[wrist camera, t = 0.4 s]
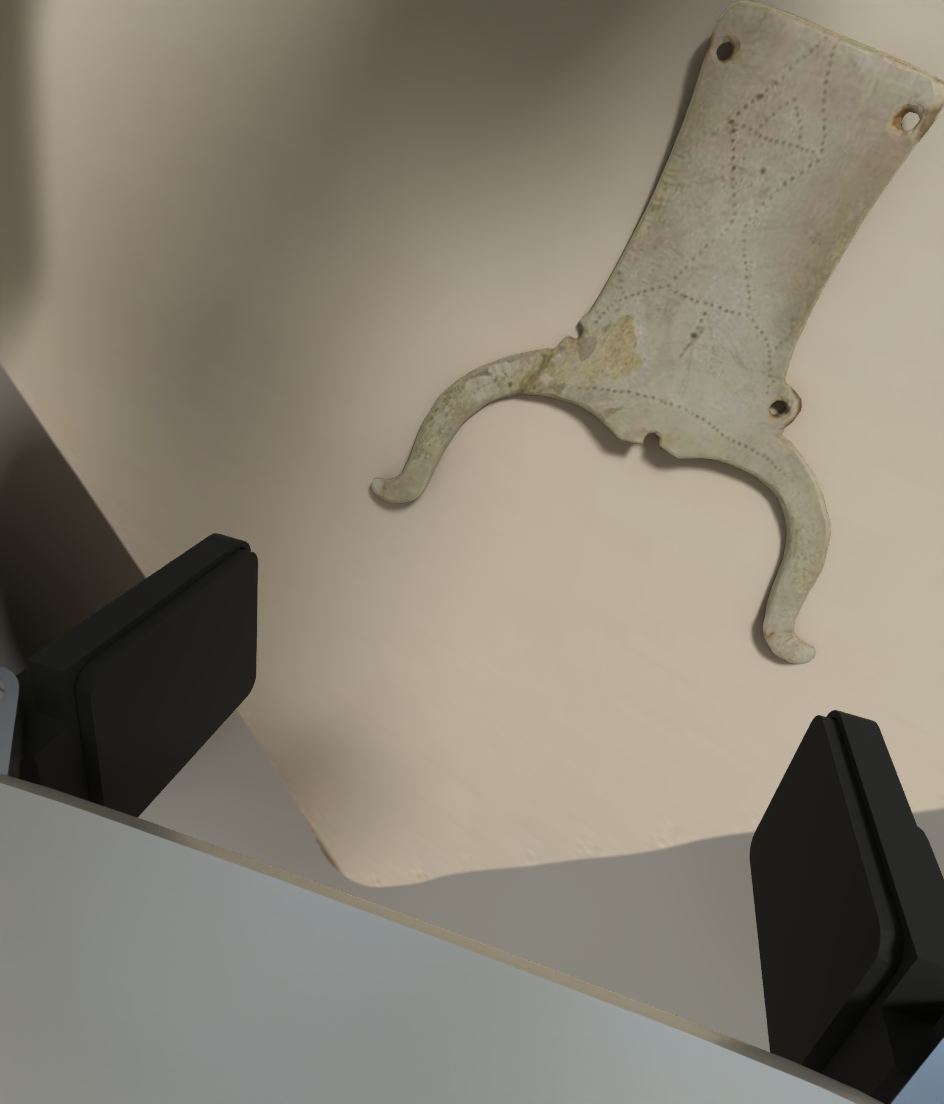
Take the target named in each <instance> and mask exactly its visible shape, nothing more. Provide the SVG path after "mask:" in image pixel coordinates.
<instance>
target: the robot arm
mask: <svg viewBox="0 0 944 1104" xmlns="http://www.w3.org/2000/svg"><path fill="white" fill-rule="evenodd" d="M257 584H258V558H257V555H256V554H255V553H254V552H251V549H250V546H249V544H248V543H247V542H246V541H242V540H239V539H235V538H232V537H228V536H225V535H221V534H216V533H214V534H212V535H210V536H208V537H207V538H205V539H204V540H202V541H201V542H199V543H198V544H196V545H195V546H193V547H192V548H191V549H189V550H188V551H186V552H185V553H183V554H182V555H180V556H179V557H177V558H176V559H174V560H173V561H171V562H170V563H168V564H167V565H165V566H164V567H162V568H161V569H160V570H158V571H157V572H155V573H154V574H152V575H151V576H149V577H148V578H146V579H145V580H143V581H142V582H140V583H139V584H137V585H136V586H135V587H133V588H131V589H130V590H129V591H127V592H126V593H124V594H123V595H121V596H120V597H118V598H117V599H115V600H114V601H112V602H111V603H109V604H108V605H106V606H105V607H103V608H102V609H101V610H99V611H98V612H96V613H95V614H93V615H92V616H90V617H89V618H87V619H86V620H84V621H83V622H81V623H80V624H78V625H77V626H75V627H74V628H73V629H71V630H70V631H68V632H67V633H65V634H64V635H62V636H61V637H59V638H58V639H56V640H55V641H53V642H52V643H50V644H49V645H47V646H46V647H44V648H43V649H42V650H40V651H39V652H37V653H36V654H34V655H33V656H31V657H30V658H28V659H27V662H28V668H26V669H25V670H23V671H22V672H21V673H19V674H18V675H16V676H15V675H14V674H13V673H12V672H11V671H10V670H7V669H5V668H3V667H1V666H0V1104H944V879H943V876H942V874H941V871H940V868H939V866H938V864H937V861H936V858H935V856H934V853H933V851H932V848H931V846H930V843H929V841H928V839H927V837H926V835H925V833H924V832H923V830H921V829H920V828H919V827H917V825H916V822H915V819H914V817H913V814H912V812H911V809H910V806H909V804H908V801H907V799H906V796H905V793H904V791H903V788H902V786H901V783H900V780H899V778H898V775H897V773H896V770H895V768H894V765H893V762H892V760H891V757H890V755H889V752H888V749H887V747H886V744H885V742H884V739H883V736H882V734H881V731H880V729H879V726H878V725H877V723H876V722H874V721H872V720H869V719H865V718H862V717H858V716H855V715H851V714H848V713H844V712H841V711H837V710H834V711H831V712H830V713H829V714H828V715H827V717H823V716H820V715H818V716H816V717H815V718H814V719H813V720H812V722H811V724H810V726H809V728H808V730H807V732H806V734H805V736H804V738H803V739H802V741H801V743H800V745H799V747H798V749H797V751H796V753H795V755H794V757H793V759H792V761H791V763H790V765H789V767H788V769H787V771H786V773H785V775H784V777H783V779H782V781H781V782H780V784H779V786H778V788H777V790H776V792H775V794H774V796H773V798H772V800H771V802H770V804H769V806H768V808H767V810H766V812H765V814H764V816H763V818H762V820H761V822H760V824H759V826H758V827H757V829H756V831H755V833H754V836H753V839H752V842H751V847H750V865H751V875H752V884H753V894H754V904H755V913H756V922H757V932H758V940H759V950H760V960H761V970H762V979H763V988H764V998H765V1007H766V1017H767V1026H768V1036H769V1044H770V1052H767V1051H765V1050H762V1049H760V1048H757V1047H755V1046H752V1045H749V1044H747V1043H744V1042H742V1041H739V1040H736V1039H734V1038H731V1037H729V1036H727V1035H724V1034H721V1033H719V1032H716V1031H714V1030H711V1029H708V1028H706V1027H703V1026H701V1025H698V1024H695V1023H693V1022H691V1021H688V1020H685V1019H683V1018H680V1017H678V1016H675V1015H673V1014H670V1013H668V1012H665V1011H662V1010H660V1009H657V1008H654V1007H652V1006H649V1005H646V1004H644V1003H641V1002H638V1001H636V1000H633V999H630V998H628V997H625V996H622V995H620V994H617V993H614V992H611V991H609V990H606V989H603V988H601V987H598V986H595V985H593V984H590V983H587V982H585V981H582V980H579V979H577V978H574V977H571V976H569V975H566V974H563V973H561V972H558V971H555V970H552V969H550V968H547V967H545V966H542V965H539V964H536V963H534V962H531V961H528V960H526V959H523V958H520V957H518V956H515V955H512V954H510V953H507V952H504V951H502V950H499V949H496V948H494V947H491V946H488V945H485V944H483V943H480V942H477V941H475V940H472V939H469V938H467V937H464V936H461V935H458V934H455V933H453V932H450V931H447V930H445V929H442V928H439V927H436V926H434V925H431V924H429V923H426V922H423V921H420V920H418V919H415V918H412V917H409V916H406V915H404V914H401V913H399V912H396V911H393V910H390V909H388V908H385V907H382V906H380V905H377V904H374V903H371V902H369V901H366V900H363V899H360V898H358V897H355V896H352V895H349V894H347V893H344V892H341V891H339V890H336V889H333V888H330V887H328V886H325V885H322V884H319V883H317V882H314V881H311V880H308V879H306V878H303V877H300V876H298V875H295V874H292V873H289V872H287V871H284V870H281V869H278V868H276V867H273V866H270V865H267V864H264V863H261V862H259V861H256V860H253V859H251V858H248V857H245V856H242V855H239V854H237V853H234V852H231V851H228V850H226V849H223V848H220V847H217V846H214V845H211V844H209V843H206V842H203V841H201V840H198V839H195V838H192V837H190V836H187V835H184V834H181V833H178V832H176V831H173V830H170V829H167V828H164V827H162V826H159V825H156V824H153V823H150V822H148V821H145V820H142V819H139V818H138V817H139V815H140V814H141V813H142V812H143V811H144V810H145V809H146V808H147V807H148V805H149V804H150V803H151V802H152V801H153V800H154V799H155V798H156V796H158V794H159V793H160V792H161V791H162V790H163V789H164V788H165V787H166V786H167V784H168V783H169V782H170V781H171V780H172V779H173V778H174V777H175V775H177V773H178V772H179V771H180V770H181V769H182V768H183V767H184V766H185V765H186V763H187V762H188V761H189V760H190V759H191V758H192V757H193V756H194V755H195V754H196V752H197V751H198V750H199V749H200V748H201V747H202V746H203V745H204V743H205V742H206V741H207V740H208V739H209V738H210V737H211V736H212V735H213V734H214V732H215V731H216V730H217V729H218V728H219V727H220V726H221V725H222V723H223V722H224V721H225V720H226V719H227V718H228V717H229V716H230V715H231V714H232V713H233V711H234V710H235V709H236V708H237V707H238V706H239V705H240V704H241V703H242V702H243V700H244V699H245V698H246V697H247V696H248V695H249V693H250V692H251V690H252V688H253V685H254V683H255V679H256V649H257Z"/></svg>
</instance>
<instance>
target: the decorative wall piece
mask: <svg viewBox="0 0 944 1104" xmlns="http://www.w3.org/2000/svg"><path fill="white" fill-rule="evenodd" d="M727 42H729V43H730V45H731V46H732V53H731V55H730V57H729V58H728V59H727V60H724V61H722V60H720V59H718V57H717V54H716V52H717V48H718V47H719V46H720V45H721V44H722V43H727ZM943 107H944V81H942V80H940V79H938V78H936V77H935V76H933V75H931V74H929V73H927V72H925V71H923V70H921V69H919V68H917V67H915V66H913V65H911V64H909V63H907V62H904V61H902V60H899V59H897V58H895V57H893V56H891V55H889V54H887V53H884V52H881V51H879V50H876V49H874V48H871V47H869V46H867V45H864V44H862V43H860V42H857V41H855V40H852V39H849V38H847V37H844V36H841V35H839V34H836V33H834V32H832V31H830V30H827V29H825V28H823V27H821V26H819V25H817V24H815V23H813V22H811V21H808V20H806V19H803V18H800V17H798V16H795V15H792V14H790V13H787V12H785V11H782V10H779V9H776V8H773V7H770V6H767V5H764V4H761V3H759V2H755V1H745V0H742V1H738V2H734V3H731V5H730V6H729V7H728V8H727V9H726V10H725V11H724V12H723V13H722V14H721V15H720V17H719V19H718V21H717V23H716V25H715V27H714V30H713V33H712V36H711V39H710V42H709V45H708V48H707V51H706V54H705V57H704V60H703V63H702V67H701V70H700V73H699V77H698V80H697V83H696V86H695V89H694V92H693V96H692V98H691V101H690V104H689V107H688V110H687V113H686V115H685V118H684V121H683V123H682V126H681V128H680V131H679V133H678V136H677V138H676V141H675V144H674V146H673V149H672V151H671V154H670V156H669V158H668V161H667V163H666V165H665V168H664V170H663V172H662V175H661V177H660V179H659V182H658V184H657V186H656V189H655V191H654V193H653V195H652V197H651V199H650V201H649V203H648V205H647V208H646V210H645V212H644V214H643V215H642V217H641V219H640V221H639V223H638V225H637V227H636V229H635V231H634V233H633V235H632V237H631V239H630V241H629V243H628V245H627V247H626V248H625V250H624V252H623V254H622V256H621V258H620V260H619V262H618V264H617V265H616V267H615V269H614V271H613V273H612V274H611V276H610V278H609V280H608V282H607V283H606V285H605V287H604V289H603V290H602V292H601V294H600V295H599V297H598V299H597V300H596V302H595V304H594V305H593V307H592V308H591V310H590V311H589V312H588V313H587V314H585V315H584V316H583V317H582V319H581V320H580V321H579V322H578V324H579V326H580V327H581V328H582V334H581V336H580V337H578V338H577V339H574V338H572V337H570V336H566V337H565V338H564V339H563V340H562V341H561V342H560V344H559V345H558V346H557V347H556V348H554V349H548V348H546V349H540V350H535V351H531V352H526V353H521V354H516V355H512V356H509V357H505V358H502V359H500V360H497V361H495V362H492V363H490V364H487V365H484V366H482V367H480V368H478V369H476V370H473V371H471V372H469V373H468V374H466V375H465V376H463V377H462V378H460V379H459V380H457V381H456V382H455V383H454V384H452V385H451V386H450V387H449V388H448V389H446V390H445V391H444V392H443V393H442V394H441V395H440V396H439V398H438V399H437V401H436V402H435V404H434V406H433V407H432V409H431V411H430V412H429V414H428V415H427V417H426V418H425V420H424V422H423V423H422V426H421V428H420V431H419V433H418V436H417V438H416V441H415V443H414V446H413V449H412V452H411V455H410V457H409V459H408V462H407V464H406V466H405V468H404V470H403V472H402V473H401V474H399V475H398V476H397V477H395V478H393V479H388V480H387V479H382V478H375V479H374V480H373V482H372V485H371V487H372V490H373V492H374V494H376V495H377V496H378V497H379V498H380V499H382V500H384V501H386V502H389V503H406V502H410V501H413V500H415V499H416V498H418V497H419V496H420V495H421V494H422V493H423V492H424V491H425V489H426V487H427V485H428V483H429V481H430V479H431V477H432V475H433V472H434V470H435V468H436V466H437V464H438V462H439V460H440V458H441V456H442V454H443V452H444V451H445V449H446V447H447V446H448V444H449V443H450V441H451V439H452V438H453V437H454V435H455V434H456V432H457V431H458V429H459V428H460V427H461V426H462V424H463V423H464V422H465V421H466V420H467V419H469V418H470V417H471V416H472V415H473V414H475V413H476V412H477V411H479V410H480V409H481V408H483V407H484V406H486V405H487V404H489V403H491V402H493V401H495V400H498V399H501V398H504V397H508V396H512V395H516V394H525V395H540V396H547V397H552V398H557V399H560V400H563V401H567V402H570V403H573V404H576V405H578V406H580V407H582V408H584V409H585V410H587V411H588V412H590V413H591V414H593V415H594V416H596V417H597V418H598V419H600V420H601V422H602V423H603V424H604V425H605V426H606V427H607V428H608V429H610V430H611V431H612V433H613V434H614V435H615V436H616V437H617V438H619V439H620V440H623V441H627V442H631V443H636V444H643V441H644V439H645V437H646V436H647V435H648V434H650V433H654V434H656V435H657V436H658V439H659V441H658V445H659V446H660V447H661V448H662V449H663V450H665V451H666V452H668V453H669V454H671V455H673V456H674V457H676V458H677V459H692V458H703V459H712V460H718V461H721V462H724V463H727V464H730V465H732V466H734V467H737V468H739V469H741V470H743V471H745V472H747V473H749V474H751V475H753V476H754V477H756V478H757V479H759V480H760V481H761V482H763V483H764V484H765V485H766V486H767V487H768V488H769V489H770V490H771V491H772V492H773V493H774V494H775V495H776V497H777V498H778V501H779V503H780V505H781V507H782V510H783V514H784V518H785V523H786V527H787V533H786V544H785V550H784V555H783V559H782V562H781V565H780V567H779V570H778V572H777V575H776V578H775V580H774V583H773V585H772V588H771V591H770V594H769V598H768V602H767V606H766V611H765V618H764V621H763V634H764V637H765V640H766V642H767V644H768V645H769V647H770V649H771V650H772V652H773V653H774V654H776V655H777V656H778V657H780V658H782V659H784V660H785V661H787V662H789V663H793V664H805V663H808V662H810V661H811V660H812V659H813V658H814V657H815V653H816V652H815V649H814V648H813V647H811V646H809V645H807V644H805V643H804V642H802V641H801V640H800V639H799V638H798V637H797V636H796V635H795V634H794V630H793V628H794V624H795V619H796V617H797V615H798V613H799V611H800V608H801V606H802V604H803V602H804V601H805V599H806V597H807V595H808V593H809V591H810V590H811V588H812V587H813V585H814V583H815V582H816V580H817V578H818V576H819V574H820V573H821V571H822V569H823V566H824V562H825V558H826V554H827V549H828V545H829V540H830V535H831V531H830V519H829V516H828V512H827V509H826V505H825V501H824V497H823V495H822V492H821V489H820V487H819V485H818V482H817V480H816V478H815V476H814V474H813V472H812V470H811V469H810V467H809V466H808V464H807V463H806V461H805V459H804V457H803V456H802V455H801V454H800V452H799V451H798V450H797V449H796V448H795V447H794V445H793V444H792V443H791V442H790V441H789V440H787V439H786V438H785V437H784V436H783V435H782V433H783V431H784V428H786V427H787V426H788V425H789V424H790V423H792V422H793V421H794V419H795V418H796V416H797V415H798V414H799V412H800V411H801V408H802V405H801V398H800V397H799V396H798V394H797V393H796V392H795V391H794V390H793V389H792V388H791V387H790V386H789V385H788V384H787V383H785V377H786V373H787V370H788V367H789V364H790V360H791V357H792V354H793V351H794V348H795V346H796V343H797V341H798V338H799V336H800V334H801V332H802V331H803V329H804V327H805V325H806V322H807V320H808V318H809V316H810V313H811V311H812V309H813V307H814V305H815V304H816V302H817V300H818V298H819V296H820V294H821V292H822V290H823V288H824V287H825V285H826V283H827V281H828V280H829V278H830V276H831V274H832V273H833V271H834V269H835V268H836V266H837V264H838V262H839V261H840V259H841V257H842V255H843V254H844V252H845V250H846V249H847V247H848V245H849V243H850V242H851V240H852V238H853V237H854V235H855V234H856V232H857V230H858V229H859V227H860V225H861V224H862V222H863V220H864V219H865V217H866V216H867V214H868V213H869V211H870V210H871V208H872V207H873V205H874V204H875V202H876V201H877V199H878V198H879V196H880V195H881V193H882V192H883V190H884V189H885V188H886V186H887V185H888V183H889V182H890V181H891V179H892V178H893V176H894V175H895V173H896V172H897V171H898V169H899V168H900V167H901V165H902V164H903V162H904V161H905V160H906V158H907V157H908V155H909V154H910V152H911V151H912V149H913V148H914V147H915V146H916V144H917V143H918V142H919V141H920V140H921V138H922V137H923V136H924V135H925V133H926V132H927V131H928V129H929V128H930V127H931V125H932V124H933V123H934V121H935V120H936V119H937V117H938V115H939V114H940V112H941V110H942V108H943ZM908 112H913V113H917V114H918V116H919V118H920V120H919V122H918V123H917V125H916V126H915V127H914V128H913V129H910V130H907V131H905V130H902V125H901V121H902V118H903V117H904V116H905V115H906V114H907V113H908ZM779 400H781V401H783V402H784V404H785V410H784V411H783V412H782V413H780V414H778V415H773V414H771V413H770V411H769V408H770V406H771V405H772V403H774V402H775V401H779Z"/></svg>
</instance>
